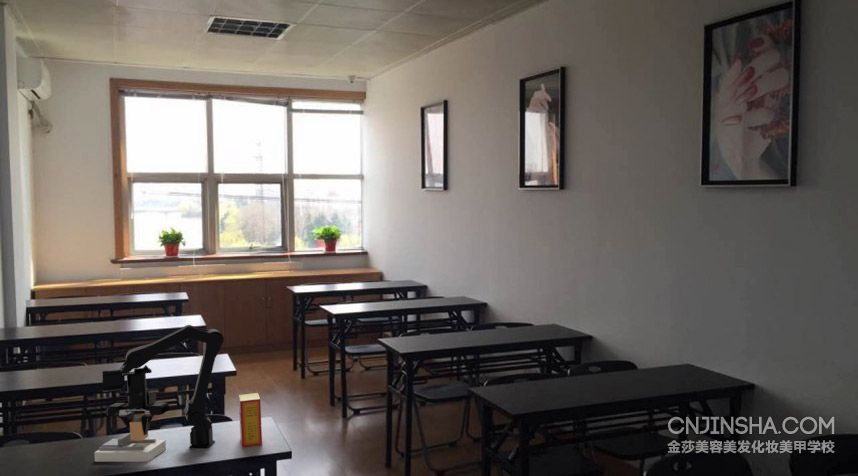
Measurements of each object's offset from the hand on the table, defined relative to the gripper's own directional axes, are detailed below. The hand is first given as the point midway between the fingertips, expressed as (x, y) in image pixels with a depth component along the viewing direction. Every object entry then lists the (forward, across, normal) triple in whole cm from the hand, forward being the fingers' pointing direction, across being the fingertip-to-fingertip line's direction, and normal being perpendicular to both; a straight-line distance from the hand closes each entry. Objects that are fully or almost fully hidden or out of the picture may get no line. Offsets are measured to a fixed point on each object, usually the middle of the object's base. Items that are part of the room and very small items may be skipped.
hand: (139, 434), depth 231 cm
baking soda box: (+7, -33, -13) cm, 36 cm away
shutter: (+3, +8, 0) cm, 8 cm away
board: (+7, +3, 0) cm, 7 cm away
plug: (+1, 0, 0) cm, 1 cm away
